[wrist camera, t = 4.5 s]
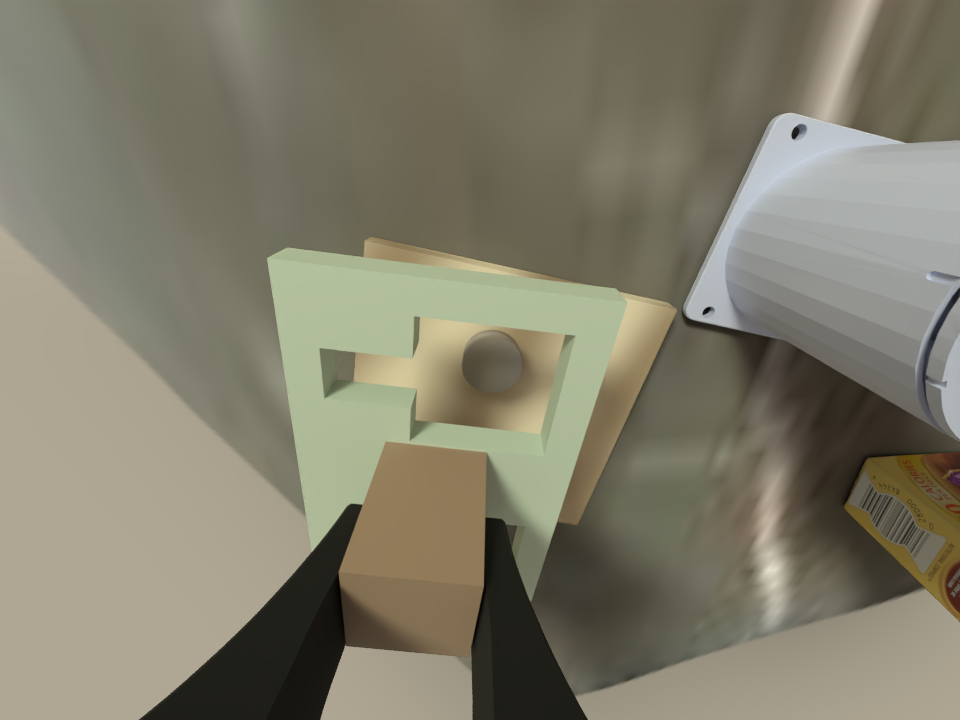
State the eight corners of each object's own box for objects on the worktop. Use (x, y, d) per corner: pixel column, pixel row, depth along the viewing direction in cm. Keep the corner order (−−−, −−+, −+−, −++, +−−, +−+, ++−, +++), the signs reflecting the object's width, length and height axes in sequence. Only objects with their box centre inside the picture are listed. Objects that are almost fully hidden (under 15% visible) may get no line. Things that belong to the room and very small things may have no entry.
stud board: (667, 302, 18) (703, 329, 15) (573, 511, 23) (586, 561, 20) (371, 236, 17) (346, 251, 14) (351, 472, 22) (329, 518, 20)
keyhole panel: (616, 288, 10) (709, 401, 6) (526, 585, 16) (538, 745, 12) (287, 247, 10) (121, 333, 5) (326, 566, 16) (265, 721, 12)
